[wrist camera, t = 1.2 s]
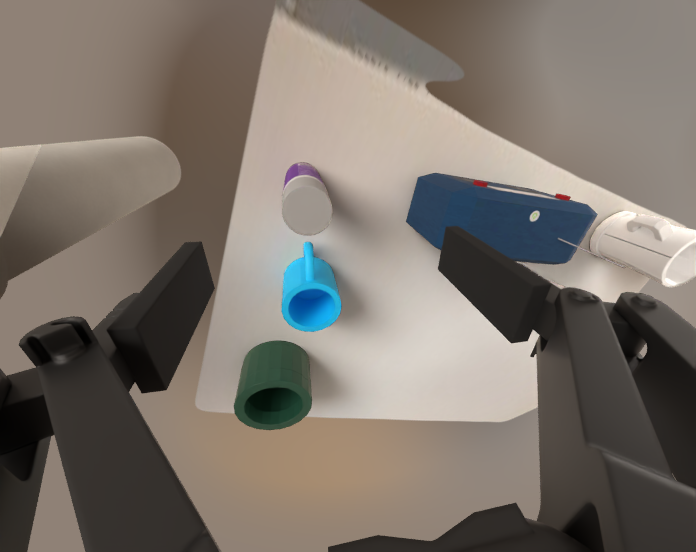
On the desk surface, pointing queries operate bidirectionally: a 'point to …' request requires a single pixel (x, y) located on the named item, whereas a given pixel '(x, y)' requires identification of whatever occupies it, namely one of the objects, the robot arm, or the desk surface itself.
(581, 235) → the radio
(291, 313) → the mug
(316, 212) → the container
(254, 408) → the jar
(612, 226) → the cup
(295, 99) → the desk surface
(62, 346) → the robot arm
